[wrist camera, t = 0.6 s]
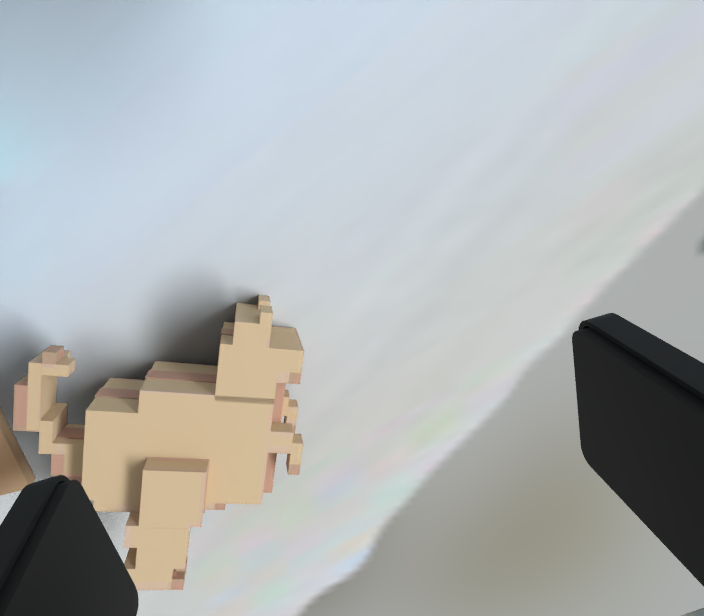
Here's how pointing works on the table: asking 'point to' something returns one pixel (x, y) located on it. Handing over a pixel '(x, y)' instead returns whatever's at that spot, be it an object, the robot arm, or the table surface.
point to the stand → (12, 461)
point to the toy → (174, 437)
